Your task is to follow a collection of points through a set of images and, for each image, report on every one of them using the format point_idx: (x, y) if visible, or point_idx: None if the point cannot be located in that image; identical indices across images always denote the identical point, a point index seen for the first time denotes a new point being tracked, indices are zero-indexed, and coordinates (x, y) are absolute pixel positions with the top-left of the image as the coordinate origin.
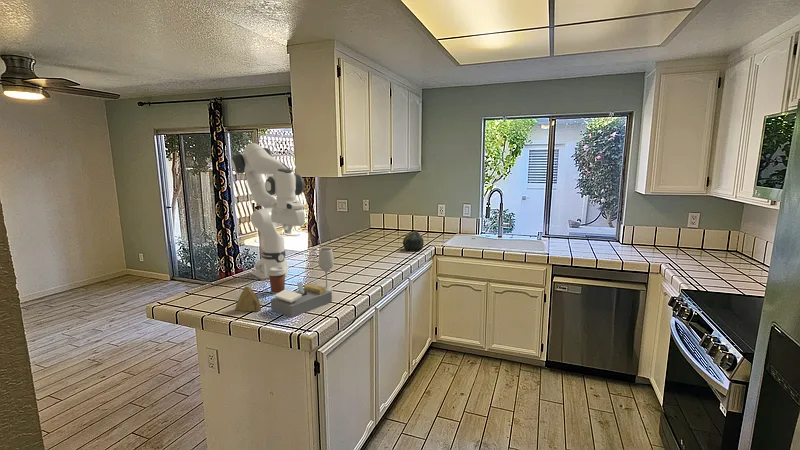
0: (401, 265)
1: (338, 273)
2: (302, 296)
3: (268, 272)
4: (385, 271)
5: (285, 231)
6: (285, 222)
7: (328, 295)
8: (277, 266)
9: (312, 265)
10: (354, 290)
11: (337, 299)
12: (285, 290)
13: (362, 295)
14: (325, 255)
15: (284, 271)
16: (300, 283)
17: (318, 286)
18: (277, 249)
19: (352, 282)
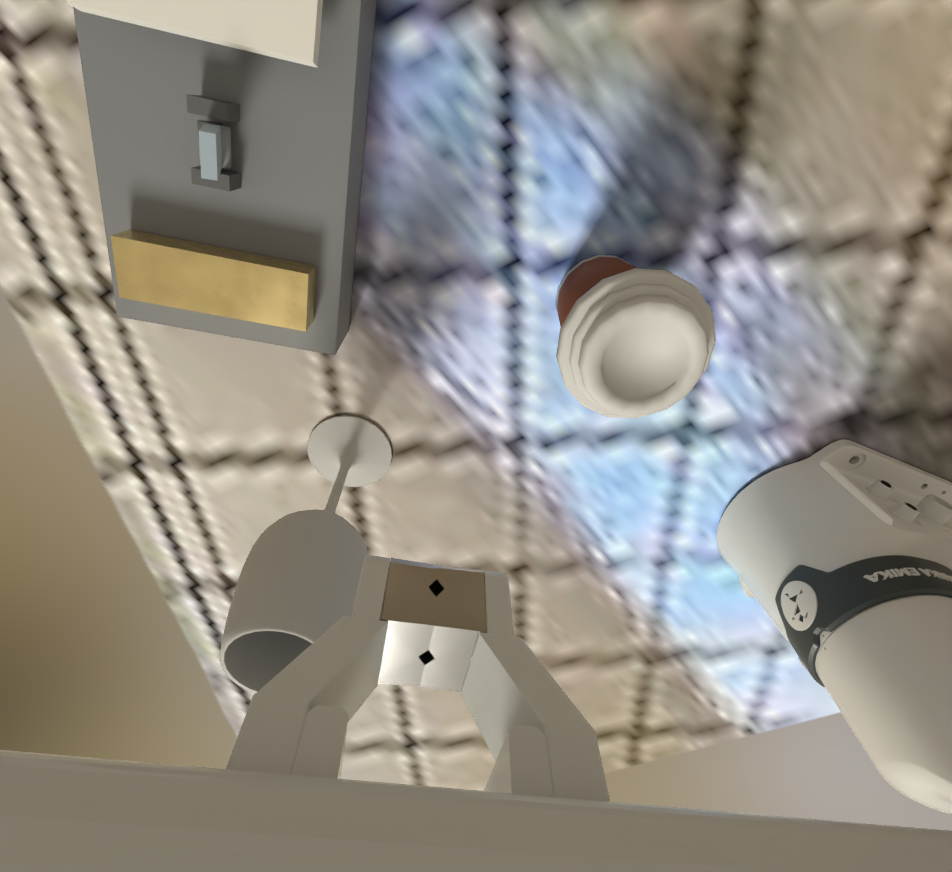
0: None
1: None
2: (196, 120)
3: (696, 302)
4: None
5: (467, 595)
6: (340, 847)
7: None
8: (787, 542)
9: (676, 690)
10: (208, 498)
11: (166, 346)
12: (291, 38)
13: (108, 455)
14: (245, 593)
15: (572, 373)
16: (202, 159)
17: (191, 301)
18: (858, 647)
19: None
